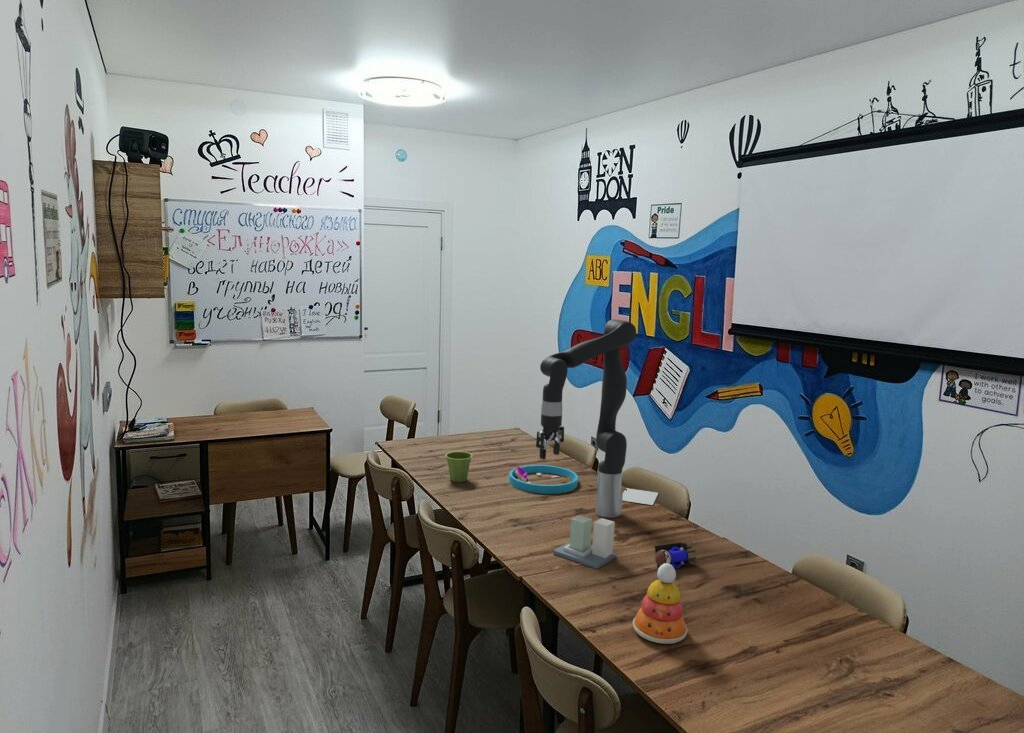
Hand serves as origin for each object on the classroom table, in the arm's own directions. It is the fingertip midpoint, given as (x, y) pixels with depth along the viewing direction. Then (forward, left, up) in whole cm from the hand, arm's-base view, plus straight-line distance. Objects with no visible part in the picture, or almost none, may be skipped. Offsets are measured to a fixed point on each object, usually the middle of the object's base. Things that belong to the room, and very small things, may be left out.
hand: (549, 456), depth 255 cm
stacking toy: (+3, +78, -26) cm, 82 cm away
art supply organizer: (-20, -46, -27) cm, 57 cm away
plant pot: (+15, -59, -26) cm, 66 cm away
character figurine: (-25, +44, -26) cm, 57 cm away
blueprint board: (-1, +28, -26) cm, 38 cm away
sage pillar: (0, +26, -25) cm, 36 cm away
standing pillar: (-6, +31, -25) cm, 40 cm away
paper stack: (-50, -24, -27) cm, 62 cm away
